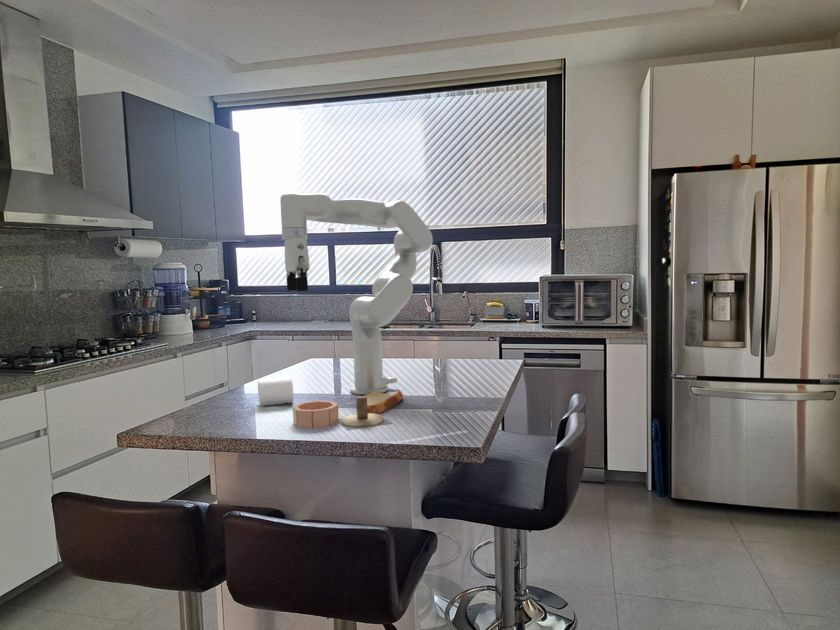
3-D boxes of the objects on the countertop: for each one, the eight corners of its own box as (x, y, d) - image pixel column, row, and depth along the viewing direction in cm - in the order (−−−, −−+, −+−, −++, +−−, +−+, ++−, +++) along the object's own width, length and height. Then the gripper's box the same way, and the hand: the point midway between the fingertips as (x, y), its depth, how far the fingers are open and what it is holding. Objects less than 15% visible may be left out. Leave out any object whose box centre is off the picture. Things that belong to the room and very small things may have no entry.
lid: (375, 414, 161) (374, 391, 160) (389, 423, 151) (388, 398, 150) (336, 419, 156) (335, 396, 156) (348, 429, 146) (347, 404, 146)
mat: (376, 415, 161) (376, 413, 161) (392, 425, 151) (392, 423, 150) (334, 421, 157) (334, 419, 157) (347, 432, 146) (347, 430, 146)
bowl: (331, 416, 162) (330, 399, 162) (342, 426, 152) (341, 407, 151) (290, 422, 157) (290, 404, 157) (300, 432, 147) (299, 412, 147)
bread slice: (368, 415, 159) (368, 401, 159) (341, 405, 175) (340, 393, 174) (423, 405, 169) (423, 392, 169) (393, 397, 184) (392, 385, 184)
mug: (293, 405, 178) (292, 379, 177) (260, 408, 174) (258, 382, 174) (289, 397, 189) (288, 373, 188) (258, 400, 186) (256, 376, 185)
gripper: (316, 232, 172) (318, 290, 173) (297, 236, 187) (300, 289, 188) (291, 232, 168) (294, 291, 169) (274, 236, 183) (277, 290, 184)
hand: (297, 290), depth 179 cm, fingers open, 9 cm apart
